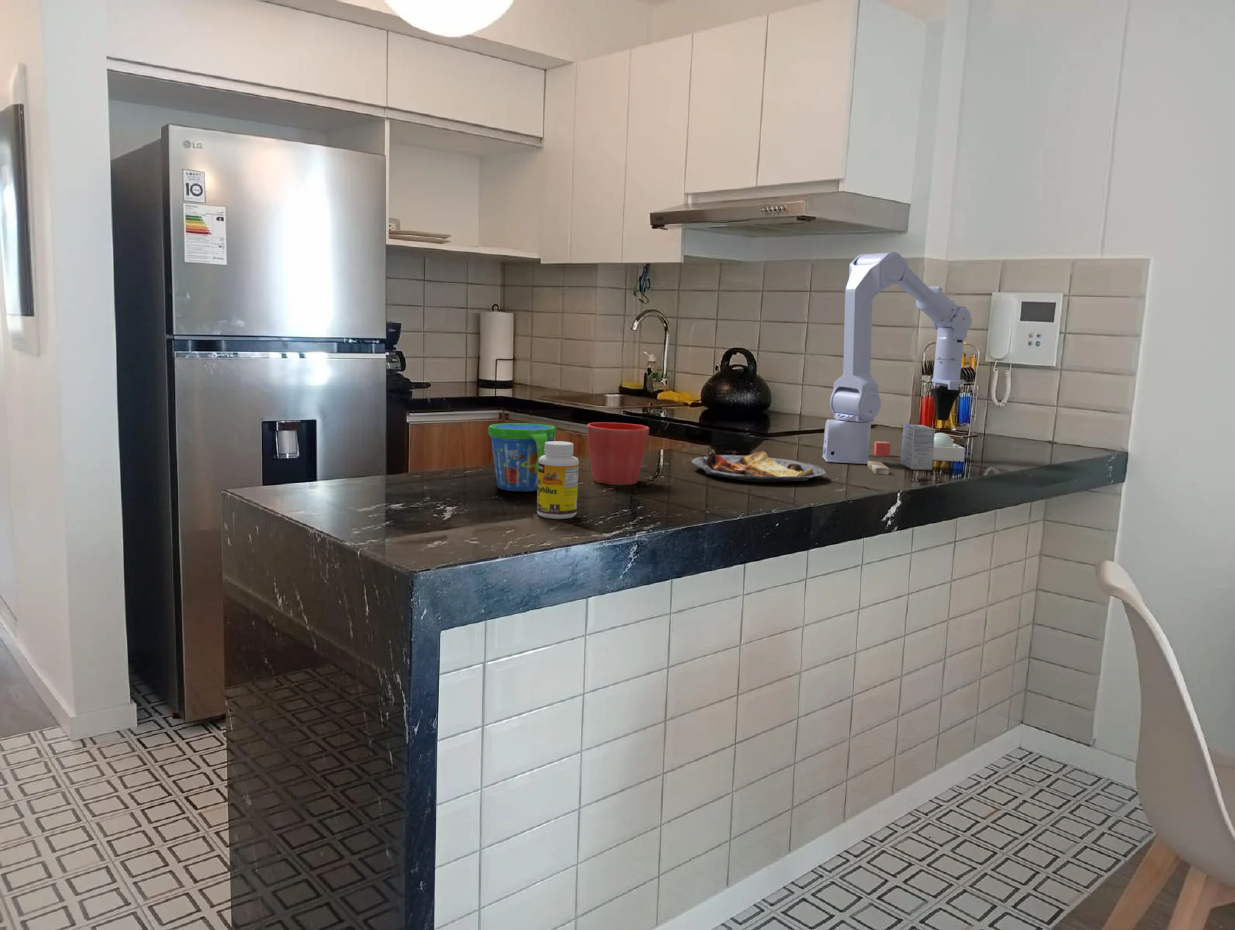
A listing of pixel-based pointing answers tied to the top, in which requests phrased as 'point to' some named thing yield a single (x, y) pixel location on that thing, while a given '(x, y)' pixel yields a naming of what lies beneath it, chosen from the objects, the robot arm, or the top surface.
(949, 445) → the pale green ball
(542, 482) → the supplement bottle
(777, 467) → the food plate
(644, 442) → the flower pot
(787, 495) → the top surface
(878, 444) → the red die
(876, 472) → the game track
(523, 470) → the snack cup
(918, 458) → the medicine box
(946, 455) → the white square frame
